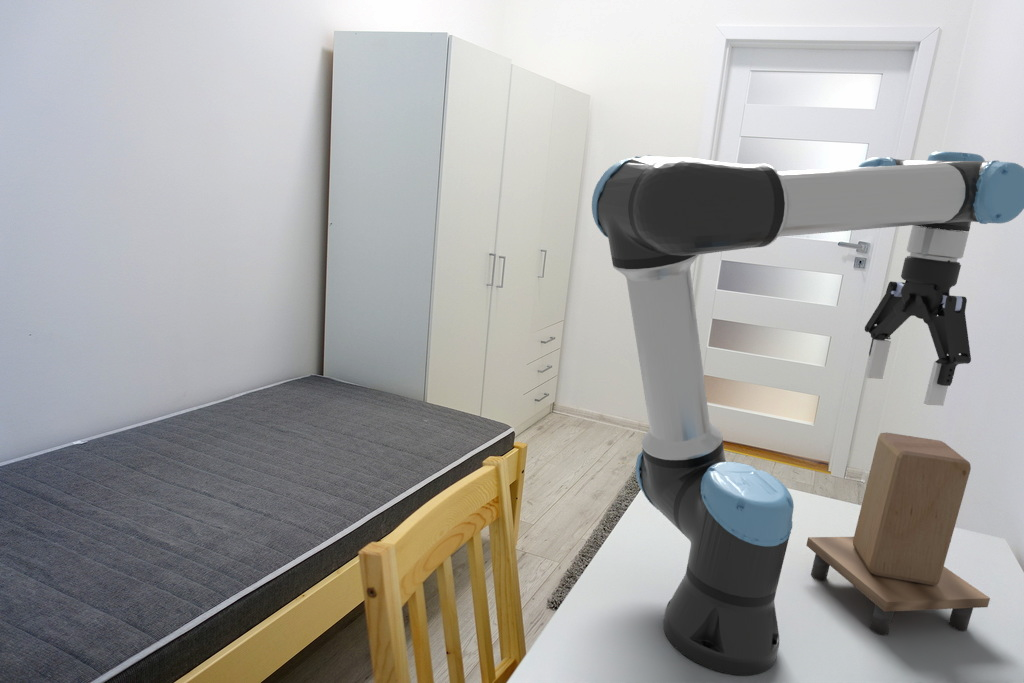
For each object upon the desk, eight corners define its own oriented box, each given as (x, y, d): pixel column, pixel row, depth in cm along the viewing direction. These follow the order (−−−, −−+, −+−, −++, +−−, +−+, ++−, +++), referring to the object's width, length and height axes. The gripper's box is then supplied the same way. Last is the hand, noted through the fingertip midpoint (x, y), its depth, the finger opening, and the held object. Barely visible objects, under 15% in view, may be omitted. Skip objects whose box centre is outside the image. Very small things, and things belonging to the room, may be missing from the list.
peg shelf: (877, 639, 101) (886, 602, 100) (800, 569, 118) (808, 537, 117) (979, 634, 105) (990, 598, 104) (891, 567, 122) (899, 536, 121)
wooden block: (940, 589, 105) (975, 463, 100) (869, 576, 106) (901, 452, 102) (913, 555, 115) (944, 439, 110) (849, 544, 116) (877, 429, 111)
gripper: (1024, 271, 97) (985, 418, 102) (898, 249, 121) (871, 369, 126) (977, 267, 95) (939, 416, 100) (859, 246, 119) (833, 367, 124)
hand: (901, 390), depth 113 cm, fingers open, 13 cm apart
